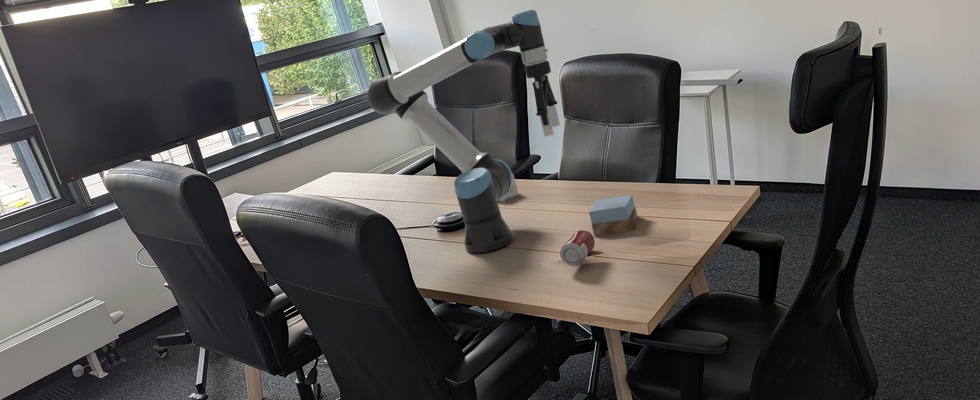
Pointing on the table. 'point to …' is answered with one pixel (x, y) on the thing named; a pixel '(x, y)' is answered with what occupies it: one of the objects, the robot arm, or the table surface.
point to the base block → (616, 226)
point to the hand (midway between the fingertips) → (552, 130)
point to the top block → (612, 209)
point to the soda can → (577, 248)
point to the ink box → (510, 191)
